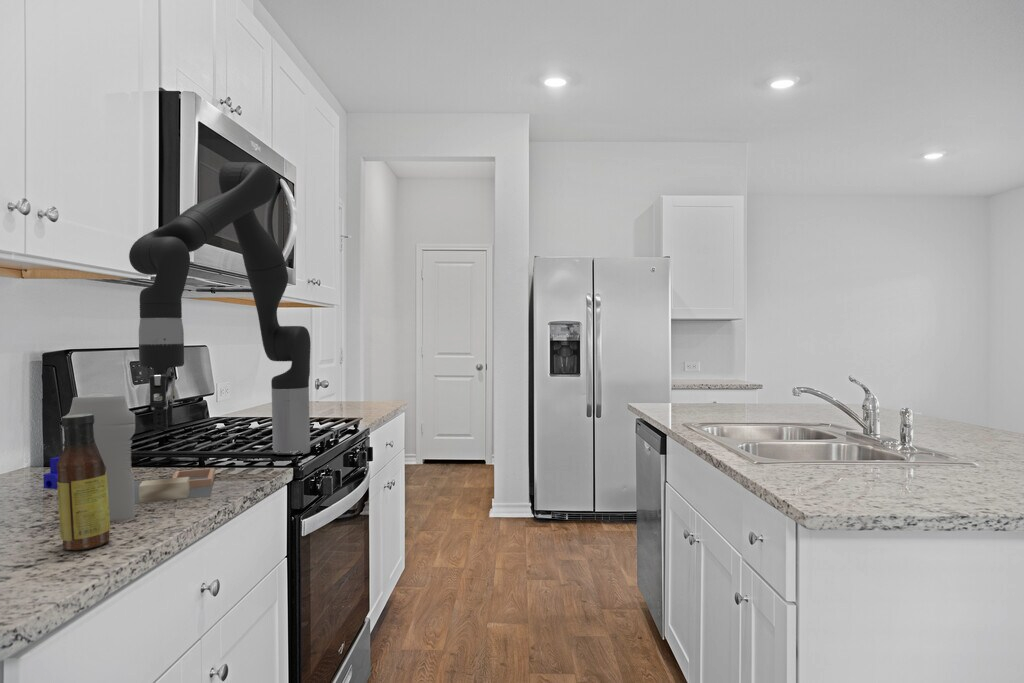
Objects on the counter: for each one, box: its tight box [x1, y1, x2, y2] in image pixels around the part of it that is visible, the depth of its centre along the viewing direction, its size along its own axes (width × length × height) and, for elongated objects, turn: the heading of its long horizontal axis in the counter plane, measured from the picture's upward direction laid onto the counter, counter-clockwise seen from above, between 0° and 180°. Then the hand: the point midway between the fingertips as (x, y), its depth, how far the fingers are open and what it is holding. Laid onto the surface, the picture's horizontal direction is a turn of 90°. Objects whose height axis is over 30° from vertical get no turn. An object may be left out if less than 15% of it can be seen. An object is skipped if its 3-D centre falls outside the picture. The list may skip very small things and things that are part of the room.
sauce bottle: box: [57, 414, 111, 552], centre depth 95 cm, size 7×6×20 cm
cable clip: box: [43, 456, 60, 490], centre depth 132 cm, size 12×4×6 cm, turn 76°
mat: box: [134, 473, 216, 505], centre depth 127 cm, size 20×16×1 cm
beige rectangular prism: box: [139, 477, 190, 502], centre depth 120 cm, size 8×4×3 cm, turn 112°
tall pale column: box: [65, 392, 136, 523], centre depth 106 cm, size 11×4×22 cm, turn 106°
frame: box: [171, 467, 216, 488], centre depth 132 cm, size 11×8×2 cm
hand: (163, 426), depth 120 cm, fingers open, 8 cm apart
